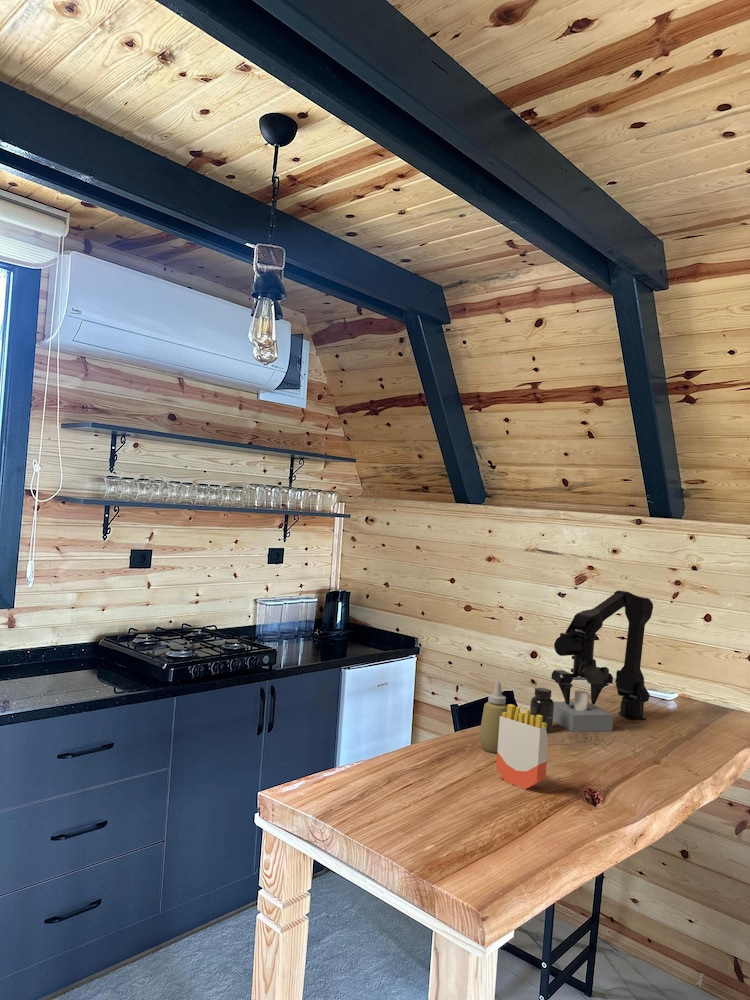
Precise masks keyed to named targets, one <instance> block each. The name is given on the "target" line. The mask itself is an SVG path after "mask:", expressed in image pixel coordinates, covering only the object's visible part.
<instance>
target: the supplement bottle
mask: <svg viewBox="0 0 750 1000" xmlns="http://www.w3.org/2000/svg"><path fill="white" fill-rule="evenodd" d="M551 698H552V690H551V689H549V688H546V687H535V688H534V696H533V697H531V699H530V703H529V704H530V705H529V706H530V707H529V710H531V714H530V716H531V715H533V716H535V718H536V715H542V716H543V720H542V723H547V729H546V731H547V734H548V733H551V732H552V730H553V722H554V721H553V710H554V702H555V701H553V699H551Z"/></svg>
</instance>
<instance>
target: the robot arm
mask: <svg viewBox="0 0 750 1000" xmlns="http://www.w3.org/2000/svg"><path fill="white" fill-rule="evenodd" d="M623 608H624V615H625V616H626V619H627V621H628V627H627V628H628V629H627V637H626V645H625V646H626V647H625V652H624V653H625V655H624V662H623V666H622V668H620V670H619V669H617V670H616V671H615V672H616V674H615V675H616V677H615V679H614V677H613V675H612V674H611V673H610V669H609V668H608V667H607V666H602V667H600V666H597V662H596V661H597V660H596V658H594V652H595V651H594V650H595V649H594V648H595V641H599V640H600V637H599V636H598V635H597V634H596V633H597V632H598V631H599V630H600V629H601V628H602V627H603V623H604V621H606V620H607V619H608V618H610V617H611V616H613V615H614V614H615V613H617V612H618V611H619V610H621V609H623ZM653 609H654V603H653V602H652V601H651V599H650V598H648V597H645V596H644V597H643V596H639V595H635V594H633V593H631V592H630V591H626V590H616V591H615V592H614V593H613V594H612V595H610V596H609V597H608V598H606V599H605V600H603V601H602V602H601V603H599V604H598V605H596V606H594V607H593V608H591V609H585V610H582V611H579V612H577V613H576V614H574V616H573V619H572V620H571V622H570V624H569V625H568V627H567V629H566V630H565V632H560V633H559V637H557V638H556V639H555V642H554V644H553V648H554V652H555V653H556V654H557V655H559V656H561V657H566V656H567V657H568V656H571V659H572V660H573V665H572V668H570V672H568V671H566V670H561V669H560V670H557V669H556V670H555V669H554V670H553V671H552V672H551V678H550V679H551V680H553V681H554V683H556V684H558V686H559V688H560V690H561V692H562V693H561V695H562V696H563V699H564V702H566V704H567V705H569V702H571V701H570V700H571V689H572V687H573V686H574V684H572V682H573V681H575V680H576V681H582V680H583V681H585V680H586V682H587V683H588V684H590V700H591V701H590V703H591V704H593V705H595V706H596V703H597V701H598V699H599V696H600V694H601V692H602V691H603V689H604V688H605V687H609V686H610V684H613V683H614V682H615V686H616V690H617V694H618V696H621V701H620V711H619V712H617V714H618V715H619V714H620V716H622V717H624V718H626V719H628V720H630V719H635V720H647V717H646V716H644V706H645V705H644V704H645V703H646V702H648V701H649V700H650V697H651V694H650V693H649V691H648V690H647V688H646V686H645V676H644V675H643V672H642V670H641V663H642V653H643V645H644V635H645V628H646V627H645V626H646V625H647V623H648V622H649V620H651V618H652V614H653V611H654V610H653ZM613 680H614V681H613Z"/></svg>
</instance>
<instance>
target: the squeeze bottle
mask: <svg viewBox="0 0 750 1000" xmlns="http://www.w3.org/2000/svg"><path fill="white" fill-rule="evenodd" d="M487 699H488V701H487V702H485V703H484V705H483V709H482V710H483V712H482V715H481V716H482V717H481V723H480V729H479V739H480V742H481V747H482V749H483V750H484V751H486V752H489V753H495V754H497V751H498V736H499V722H500V716H502V713H503V712H506V713H507V705H508V704H506V701H507V700H506V699H507V697H506V696H505V695H503V693H502V686H501V682H500V681H496V682H495V684H494V688H493V692H492V693H490V694H488V698H487Z"/></svg>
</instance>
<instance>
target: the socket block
mask: <svg viewBox="0 0 750 1000" xmlns="http://www.w3.org/2000/svg"><path fill="white" fill-rule="evenodd" d="M553 702H554V710H553V722H554V723H556V724H557V725H560V726H561V727H563V728H564V729H567V730H568V731H569V732H570V733H585V732H586V733H589V732H591V733H592V732H593V733H594V732H613V727H614V725H613V724H614V714H613V713H611V712H608V711H607V710H604V709H602V708H601V707H598V706H597V705H596V704H595V705H593V704H592V702H588V703H587V711H577V710H575V709H574V701H570V702H569V705H567V704H566V702H565V701H553Z"/></svg>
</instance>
